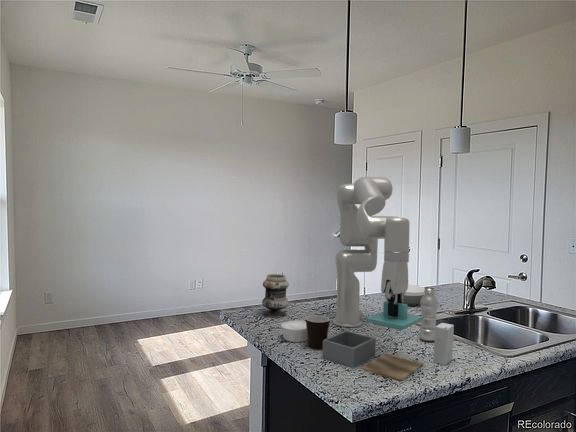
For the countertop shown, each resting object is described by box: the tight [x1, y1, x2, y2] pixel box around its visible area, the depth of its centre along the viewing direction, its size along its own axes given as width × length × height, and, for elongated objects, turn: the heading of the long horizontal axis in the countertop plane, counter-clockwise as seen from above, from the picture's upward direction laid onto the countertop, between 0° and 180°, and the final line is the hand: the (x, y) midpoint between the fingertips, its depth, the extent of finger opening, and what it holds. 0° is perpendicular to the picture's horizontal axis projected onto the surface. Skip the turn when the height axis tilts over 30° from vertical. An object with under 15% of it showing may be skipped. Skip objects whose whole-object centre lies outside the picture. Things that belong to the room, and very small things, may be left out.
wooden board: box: [361, 353, 424, 382], centre depth 131 cm, size 16×13×1 cm
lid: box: [365, 300, 424, 331], centre depth 130 cm, size 14×12×6 cm
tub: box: [321, 330, 377, 368], centre depth 139 cm, size 14×12×6 cm
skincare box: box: [433, 322, 455, 366], centre depth 137 cm, size 6×4×12 cm
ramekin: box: [280, 320, 308, 343], centre depth 157 cm, size 11×11×5 cm
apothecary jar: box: [261, 273, 290, 319], centre depth 188 cm, size 12×12×18 cm
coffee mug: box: [305, 315, 331, 351], centre depth 150 cm, size 12×9×10 cm
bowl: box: [391, 284, 425, 307], centre depth 213 cm, size 19×19×8 cm
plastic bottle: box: [418, 286, 439, 342], centre depth 157 cm, size 6×7×20 cm
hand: (395, 314), depth 130 cm, fingers closed on lid
